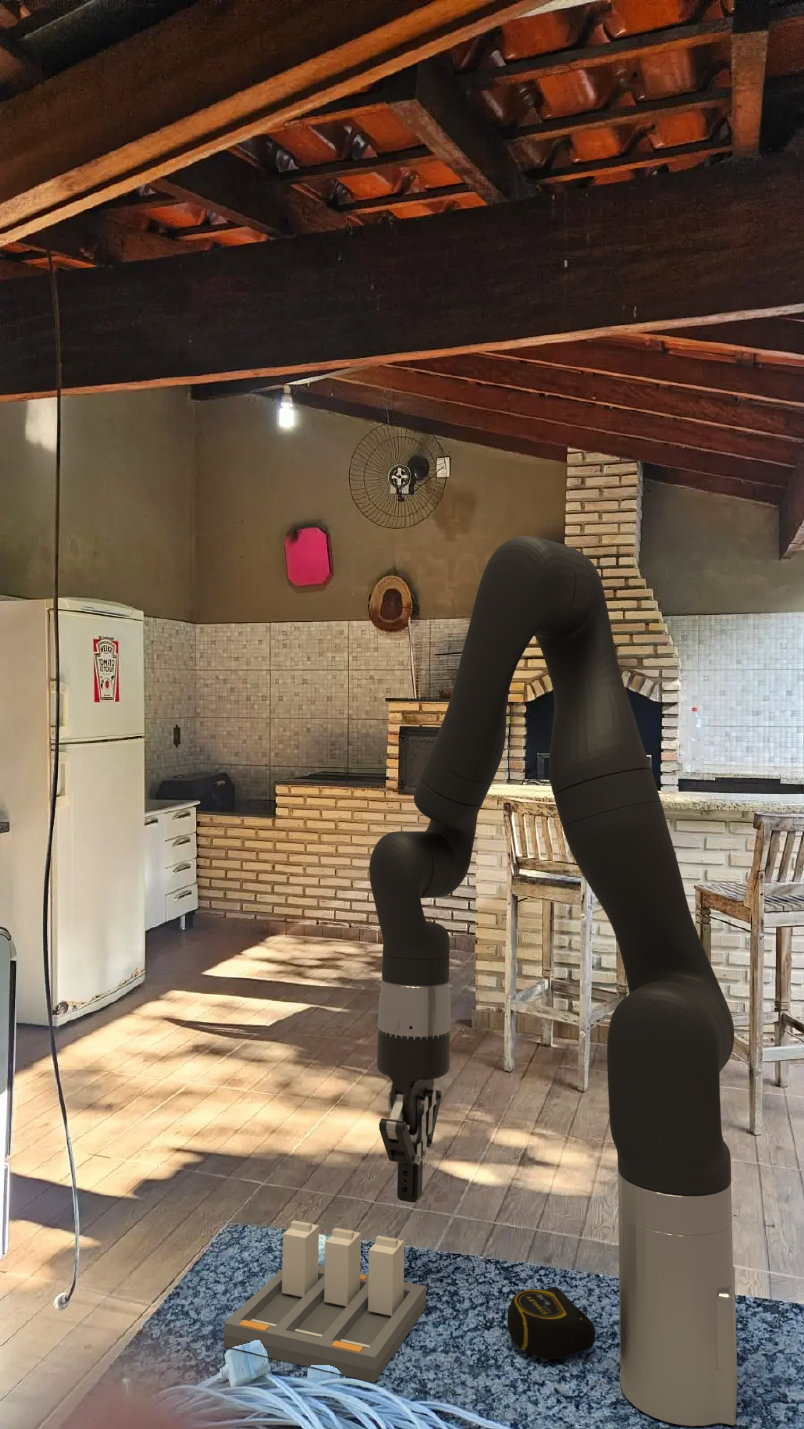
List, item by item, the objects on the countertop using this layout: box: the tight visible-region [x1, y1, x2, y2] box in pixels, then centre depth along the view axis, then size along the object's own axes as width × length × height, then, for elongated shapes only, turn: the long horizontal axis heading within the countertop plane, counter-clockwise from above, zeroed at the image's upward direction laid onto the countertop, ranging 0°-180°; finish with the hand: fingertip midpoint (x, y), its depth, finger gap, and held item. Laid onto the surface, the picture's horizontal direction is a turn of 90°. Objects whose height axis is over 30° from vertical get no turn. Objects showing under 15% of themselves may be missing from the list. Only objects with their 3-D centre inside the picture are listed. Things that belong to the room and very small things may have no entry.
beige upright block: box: [324, 1227, 362, 1306], centre depth 92 cm, size 2×3×6 cm
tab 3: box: [281, 1220, 320, 1297], centre depth 93 cm, size 2×3×6 cm
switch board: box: [223, 1264, 427, 1384], centre depth 88 cm, size 14×13×2 cm
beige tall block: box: [368, 1235, 405, 1316], centre depth 90 cm, size 2×3×6 cm
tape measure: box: [506, 1286, 596, 1360], centre depth 86 cm, size 7×7×4 cm
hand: (409, 1198), depth 97 cm, fingers closed
